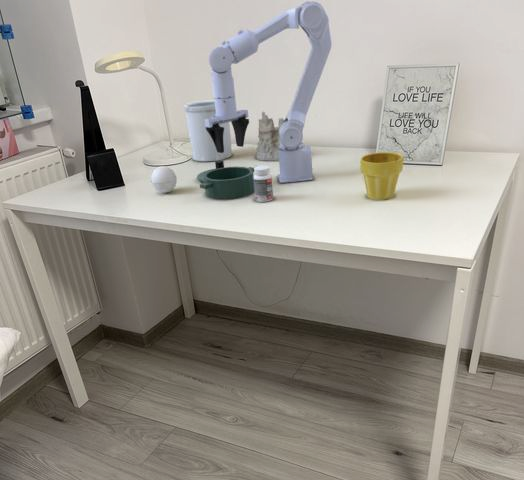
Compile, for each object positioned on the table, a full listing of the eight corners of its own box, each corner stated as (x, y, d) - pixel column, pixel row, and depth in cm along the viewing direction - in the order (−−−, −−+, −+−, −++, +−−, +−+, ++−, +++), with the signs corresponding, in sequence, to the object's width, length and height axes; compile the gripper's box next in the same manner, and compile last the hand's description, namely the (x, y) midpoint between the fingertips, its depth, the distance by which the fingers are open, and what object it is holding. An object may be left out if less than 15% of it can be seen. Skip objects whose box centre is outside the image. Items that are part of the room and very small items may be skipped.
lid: (187, 180, 166) (184, 164, 164) (222, 168, 175) (220, 153, 172) (219, 187, 157) (217, 170, 154) (255, 174, 166) (253, 158, 163)
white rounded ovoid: (163, 187, 162) (159, 162, 158) (183, 189, 158) (179, 163, 154) (142, 197, 155) (136, 171, 151) (162, 200, 151) (157, 173, 147)
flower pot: (376, 205, 133) (377, 164, 128) (351, 195, 141) (352, 157, 135) (409, 196, 136) (412, 156, 131) (383, 187, 144) (385, 149, 139)
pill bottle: (271, 202, 142) (269, 169, 137) (253, 202, 143) (250, 170, 138) (274, 196, 146) (272, 164, 141) (257, 196, 147) (254, 165, 142)
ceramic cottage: (293, 161, 175) (290, 110, 167) (248, 161, 181) (243, 113, 174) (310, 152, 187) (308, 104, 179) (267, 153, 193) (264, 107, 186)
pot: (188, 197, 151) (185, 178, 148) (238, 179, 162) (236, 162, 159) (221, 205, 143) (219, 186, 140) (271, 186, 154) (269, 167, 151)
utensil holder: (197, 152, 197) (189, 100, 187) (237, 150, 194) (231, 97, 185) (186, 163, 184) (178, 108, 175) (229, 161, 182) (223, 105, 173)
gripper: (234, 92, 153) (239, 142, 160) (194, 101, 145) (202, 153, 152) (251, 93, 148) (256, 144, 156) (211, 102, 140) (218, 156, 148)
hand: (230, 149), depth 153 cm, fingers open, 7 cm apart
